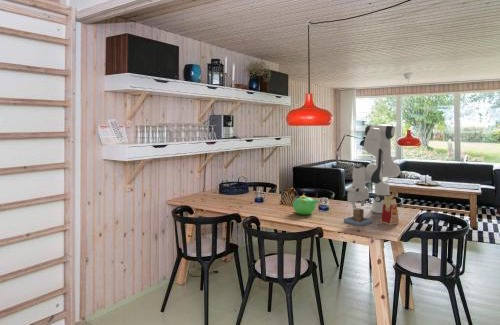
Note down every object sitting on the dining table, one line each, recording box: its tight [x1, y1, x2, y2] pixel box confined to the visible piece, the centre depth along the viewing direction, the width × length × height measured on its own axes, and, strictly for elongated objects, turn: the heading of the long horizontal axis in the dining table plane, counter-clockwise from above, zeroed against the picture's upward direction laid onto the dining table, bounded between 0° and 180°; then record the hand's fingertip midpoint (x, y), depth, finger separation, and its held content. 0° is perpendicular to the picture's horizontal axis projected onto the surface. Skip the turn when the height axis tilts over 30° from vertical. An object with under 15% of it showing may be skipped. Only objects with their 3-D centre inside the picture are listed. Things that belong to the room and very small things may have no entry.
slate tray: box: [343, 216, 373, 227], centre depth 258 cm, size 14×14×2 cm
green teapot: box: [292, 194, 320, 215], centre depth 283 cm, size 18×17×15 cm
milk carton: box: [381, 194, 400, 226], centre depth 256 cm, size 9×9×20 cm
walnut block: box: [352, 207, 365, 222], centre depth 258 cm, size 5×5×9 cm
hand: (358, 206), depth 258 cm, fingers open, 8 cm apart
